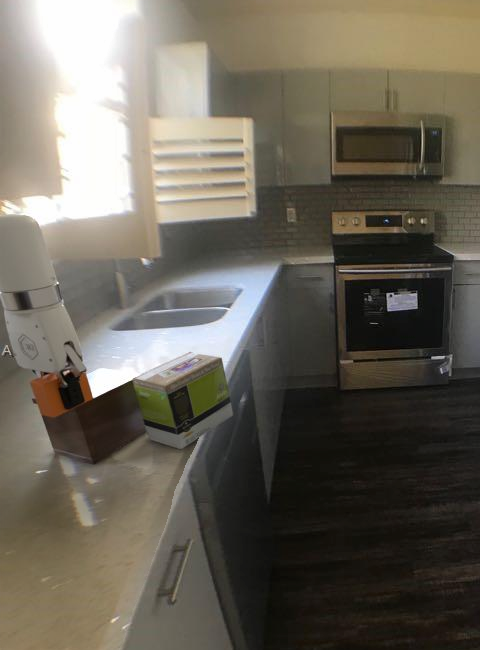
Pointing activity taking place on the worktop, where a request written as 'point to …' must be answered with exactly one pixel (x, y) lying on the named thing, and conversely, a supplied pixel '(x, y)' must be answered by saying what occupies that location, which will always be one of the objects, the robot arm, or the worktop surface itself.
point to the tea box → (183, 398)
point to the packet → (55, 394)
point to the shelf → (98, 419)
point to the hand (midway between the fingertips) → (66, 403)
